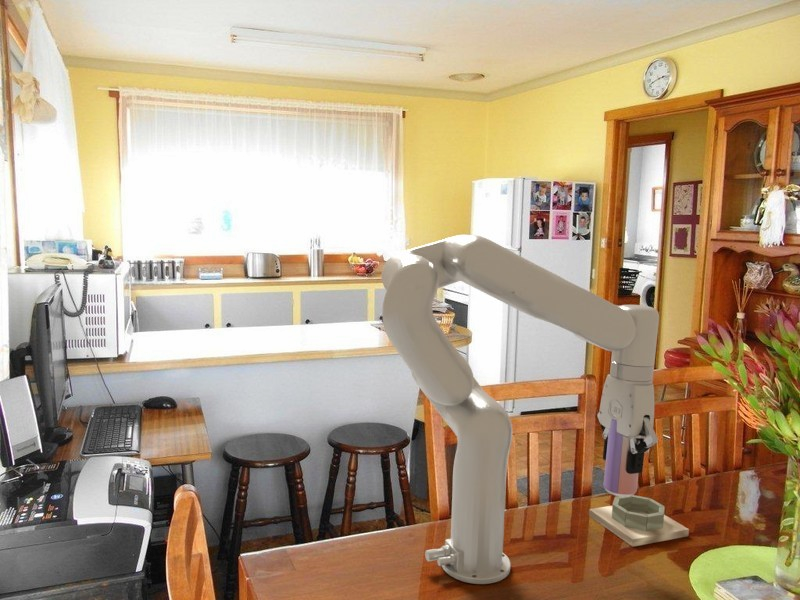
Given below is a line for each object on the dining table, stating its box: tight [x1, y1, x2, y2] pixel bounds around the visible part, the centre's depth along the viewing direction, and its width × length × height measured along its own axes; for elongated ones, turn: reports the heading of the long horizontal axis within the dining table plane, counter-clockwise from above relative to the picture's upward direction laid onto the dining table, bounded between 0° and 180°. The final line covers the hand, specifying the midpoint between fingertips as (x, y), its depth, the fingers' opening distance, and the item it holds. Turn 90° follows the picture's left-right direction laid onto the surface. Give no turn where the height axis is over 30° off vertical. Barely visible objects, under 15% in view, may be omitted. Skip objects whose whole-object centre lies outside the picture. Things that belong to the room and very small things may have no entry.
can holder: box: [588, 494, 690, 548], centre depth 137 cm, size 14×14×4 cm
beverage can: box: [603, 415, 641, 497], centre depth 123 cm, size 6×6×15 cm
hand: (622, 465), depth 123 cm, fingers closed on beverage can, 6 cm apart
